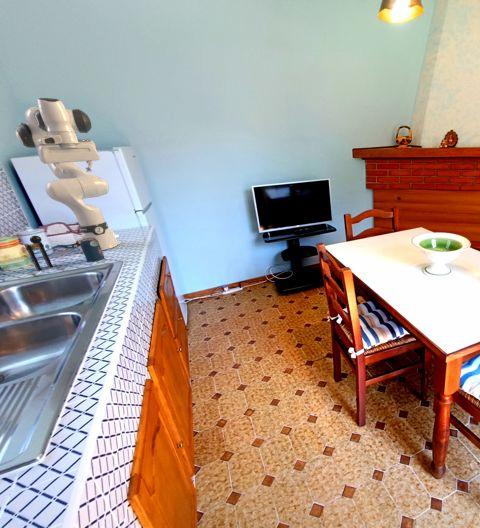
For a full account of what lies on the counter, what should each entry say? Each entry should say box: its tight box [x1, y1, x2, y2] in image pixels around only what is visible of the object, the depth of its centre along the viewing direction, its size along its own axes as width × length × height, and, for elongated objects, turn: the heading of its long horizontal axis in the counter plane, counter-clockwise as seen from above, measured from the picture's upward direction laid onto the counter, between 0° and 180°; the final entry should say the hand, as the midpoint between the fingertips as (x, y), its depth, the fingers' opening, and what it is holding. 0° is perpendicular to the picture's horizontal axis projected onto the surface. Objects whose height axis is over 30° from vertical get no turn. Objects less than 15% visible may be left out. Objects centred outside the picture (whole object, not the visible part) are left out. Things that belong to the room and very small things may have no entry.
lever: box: [29, 235, 42, 252], centre depth 135 cm, size 13×4×4 cm, turn 57°
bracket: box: [23, 241, 54, 272], centre depth 140 cm, size 12×9×14 cm
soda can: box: [80, 238, 106, 263], centre depth 148 cm, size 7×7×12 cm
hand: (77, 172), depth 135 cm, fingers open, 8 cm apart
